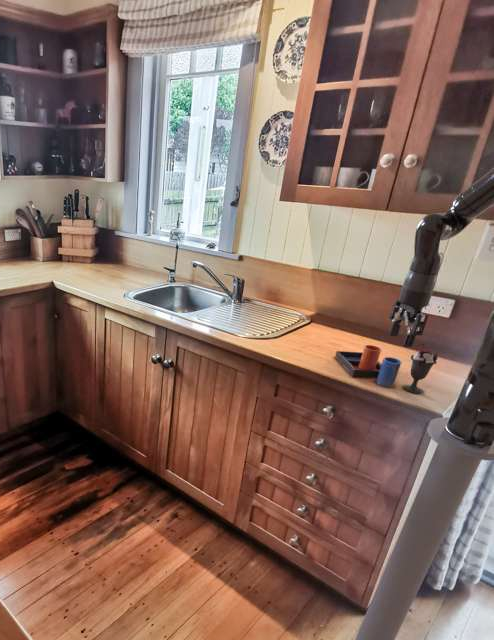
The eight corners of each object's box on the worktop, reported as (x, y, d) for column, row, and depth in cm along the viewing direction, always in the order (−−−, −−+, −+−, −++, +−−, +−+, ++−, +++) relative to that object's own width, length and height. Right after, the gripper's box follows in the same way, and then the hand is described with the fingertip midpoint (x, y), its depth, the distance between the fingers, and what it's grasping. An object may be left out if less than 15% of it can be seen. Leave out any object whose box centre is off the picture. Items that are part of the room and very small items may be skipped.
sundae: (396, 388, 141) (412, 342, 135) (406, 382, 145) (422, 338, 138) (419, 397, 137) (437, 350, 130) (428, 391, 140) (446, 345, 134)
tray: (387, 379, 147) (389, 371, 146) (352, 377, 147) (354, 369, 146) (366, 359, 160) (368, 352, 159) (334, 357, 160) (336, 350, 159)
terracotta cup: (376, 374, 148) (384, 351, 144) (361, 373, 148) (368, 350, 144) (370, 368, 152) (377, 345, 148) (355, 367, 152) (362, 344, 149)
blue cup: (396, 387, 141) (404, 364, 138) (380, 386, 142) (388, 363, 138) (388, 380, 146) (396, 357, 142) (373, 379, 146) (380, 356, 142)
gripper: (446, 295, 124) (425, 351, 131) (418, 281, 136) (400, 332, 144) (417, 294, 124) (398, 349, 131) (392, 280, 137) (376, 331, 144)
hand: (399, 340), depth 137 cm, fingers open, 8 cm apart
